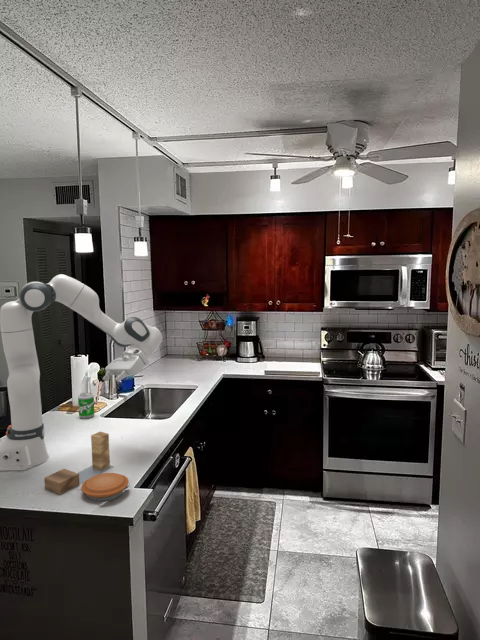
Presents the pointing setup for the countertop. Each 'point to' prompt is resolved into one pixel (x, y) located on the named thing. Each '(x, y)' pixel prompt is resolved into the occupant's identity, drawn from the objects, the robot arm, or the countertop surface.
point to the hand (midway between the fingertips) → (110, 380)
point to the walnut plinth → (61, 481)
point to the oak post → (100, 450)
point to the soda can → (86, 405)
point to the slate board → (90, 473)
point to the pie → (105, 486)
